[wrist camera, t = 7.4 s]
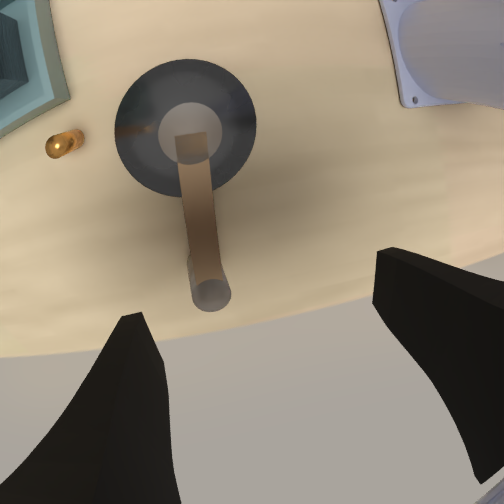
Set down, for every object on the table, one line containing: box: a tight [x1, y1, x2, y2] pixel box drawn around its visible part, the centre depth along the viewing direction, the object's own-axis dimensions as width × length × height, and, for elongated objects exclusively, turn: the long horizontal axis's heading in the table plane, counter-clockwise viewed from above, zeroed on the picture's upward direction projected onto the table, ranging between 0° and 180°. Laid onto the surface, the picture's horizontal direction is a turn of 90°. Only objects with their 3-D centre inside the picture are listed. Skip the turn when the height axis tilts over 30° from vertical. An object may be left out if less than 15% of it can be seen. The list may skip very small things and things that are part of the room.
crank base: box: [45, 59, 256, 197], centre depth 13 cm, size 10×7×3 cm
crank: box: [158, 102, 231, 312], centre depth 14 cm, size 9×2×3 cm, turn 4°
